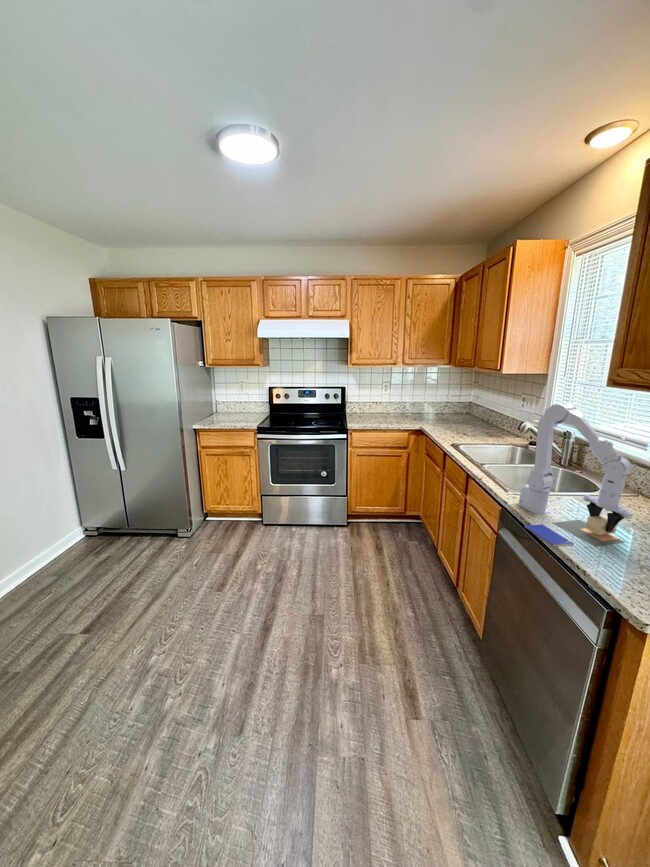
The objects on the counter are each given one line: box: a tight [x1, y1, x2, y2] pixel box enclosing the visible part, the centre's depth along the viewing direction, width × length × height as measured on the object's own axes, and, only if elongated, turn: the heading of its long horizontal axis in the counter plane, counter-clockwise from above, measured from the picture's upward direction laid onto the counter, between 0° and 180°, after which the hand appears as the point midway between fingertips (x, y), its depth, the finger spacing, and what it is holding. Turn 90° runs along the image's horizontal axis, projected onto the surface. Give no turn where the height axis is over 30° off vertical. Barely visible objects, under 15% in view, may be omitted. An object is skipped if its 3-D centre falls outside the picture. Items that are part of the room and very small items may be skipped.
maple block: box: [585, 514, 618, 535], centre depth 116 cm, size 8×4×4 cm, turn 105°
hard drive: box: [524, 524, 575, 547], centre depth 115 cm, size 2×8×12 cm
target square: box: [580, 528, 620, 541], centre depth 117 cm, size 8×8×1 cm
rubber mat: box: [552, 519, 626, 547], centre depth 118 cm, size 16×14×1 cm
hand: (600, 527), depth 117 cm, fingers closed on maple block, 4 cm apart
